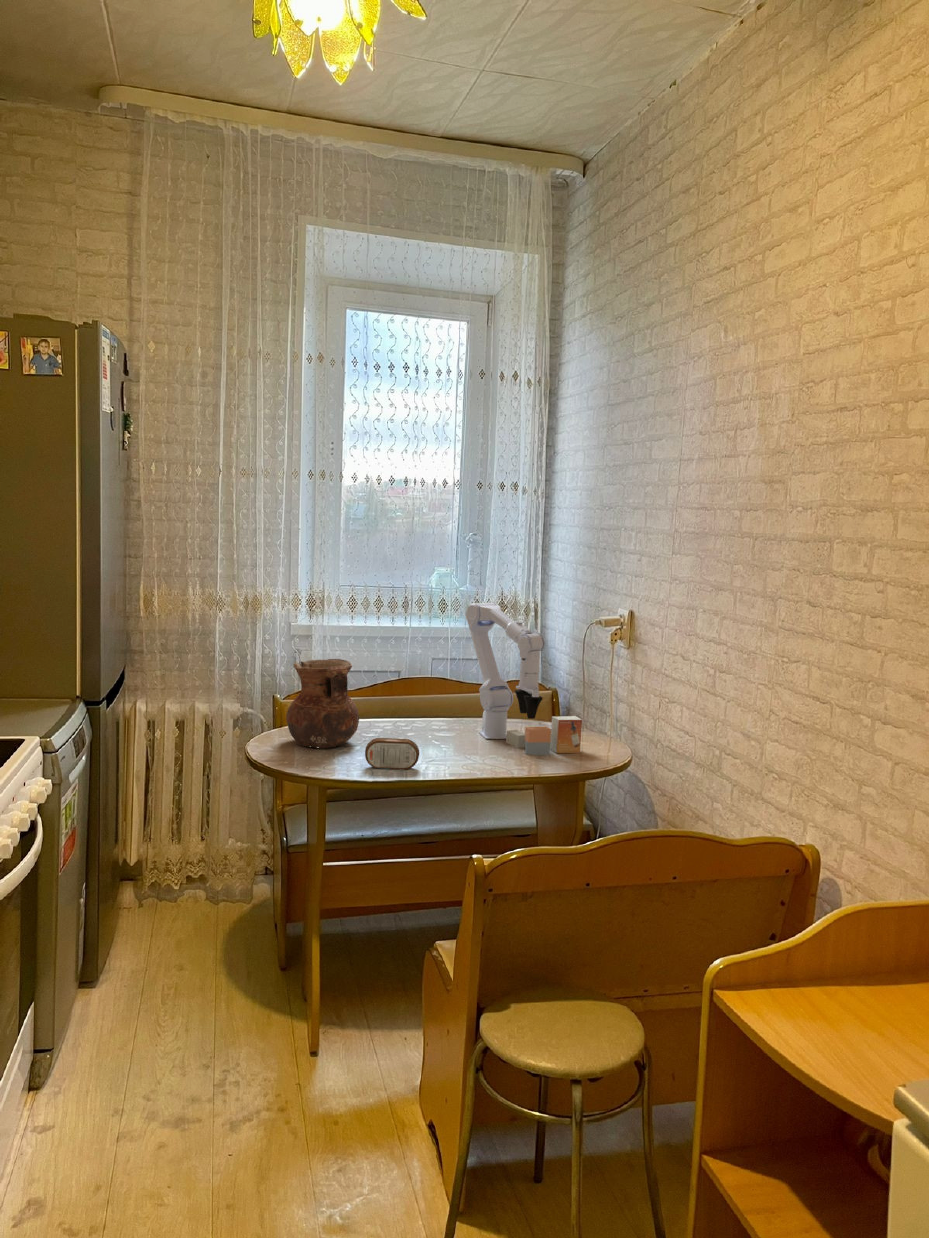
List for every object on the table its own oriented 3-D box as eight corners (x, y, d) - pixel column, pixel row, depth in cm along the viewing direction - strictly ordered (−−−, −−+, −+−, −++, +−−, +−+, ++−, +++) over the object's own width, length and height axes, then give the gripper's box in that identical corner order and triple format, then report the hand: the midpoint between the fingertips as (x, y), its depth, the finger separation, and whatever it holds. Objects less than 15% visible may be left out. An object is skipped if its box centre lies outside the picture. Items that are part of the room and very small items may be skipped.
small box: (556, 753, 278) (557, 719, 277) (549, 749, 284) (551, 715, 283) (580, 753, 281) (582, 719, 279) (573, 748, 286) (575, 715, 285)
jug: (271, 744, 275) (272, 662, 272) (313, 731, 293) (315, 654, 290) (331, 756, 264) (333, 670, 262) (371, 742, 283) (374, 662, 280)
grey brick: (518, 748, 284) (518, 735, 283) (506, 743, 290) (506, 730, 289) (527, 747, 285) (528, 734, 285) (515, 742, 292) (516, 729, 291)
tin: (418, 767, 256) (419, 738, 255) (418, 770, 253) (419, 741, 252) (364, 766, 256) (365, 736, 255) (363, 769, 252) (364, 739, 251)
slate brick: (524, 752, 279) (525, 739, 279) (547, 752, 280) (548, 739, 279) (526, 755, 276) (526, 742, 275) (549, 755, 276) (550, 742, 276)
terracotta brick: (524, 739, 278) (525, 726, 278) (546, 739, 280) (547, 726, 279) (528, 742, 275) (529, 729, 274) (550, 742, 276) (551, 729, 276)
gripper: (510, 668, 289) (508, 710, 290) (524, 676, 275) (522, 720, 276) (531, 668, 290) (529, 710, 292) (546, 676, 276) (544, 720, 278)
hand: (527, 715), depth 284 cm, fingers open, 7 cm apart
